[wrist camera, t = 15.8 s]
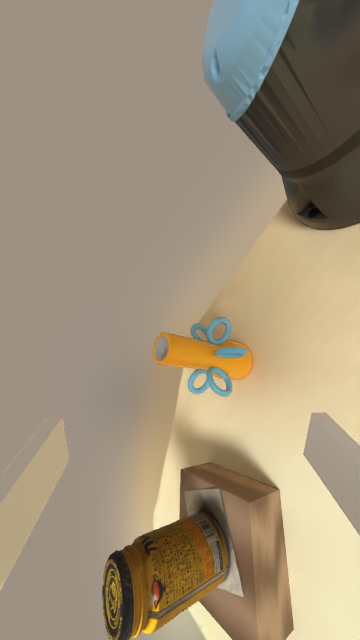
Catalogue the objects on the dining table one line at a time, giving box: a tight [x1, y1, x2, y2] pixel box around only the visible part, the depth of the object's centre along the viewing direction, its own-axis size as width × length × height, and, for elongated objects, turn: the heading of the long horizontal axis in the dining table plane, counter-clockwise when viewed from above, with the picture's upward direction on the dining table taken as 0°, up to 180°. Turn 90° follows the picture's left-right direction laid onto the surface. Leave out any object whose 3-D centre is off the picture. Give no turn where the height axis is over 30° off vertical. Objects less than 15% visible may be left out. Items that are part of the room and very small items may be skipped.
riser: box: [180, 463, 294, 640], centre depth 27 cm, size 12×12×6 cm
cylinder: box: [153, 317, 253, 397], centre depth 30 cm, size 12×10×15 cm
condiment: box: [102, 489, 244, 640], centre depth 22 cm, size 7×8×12 cm
